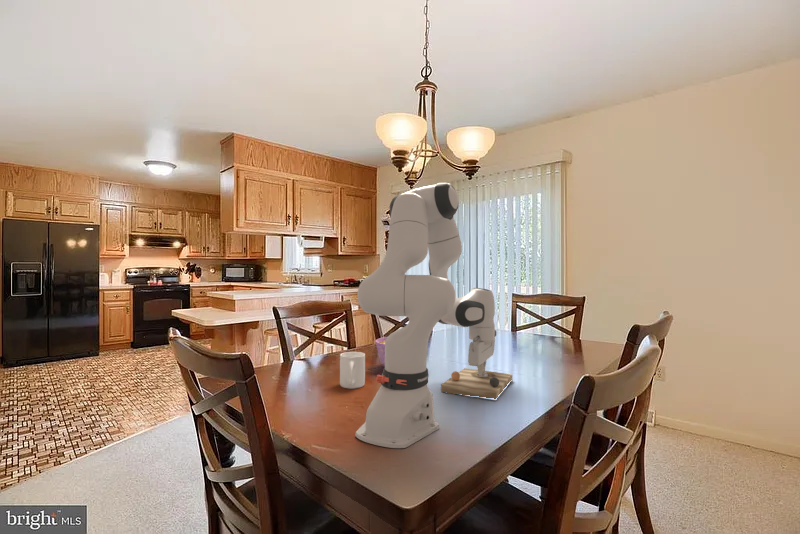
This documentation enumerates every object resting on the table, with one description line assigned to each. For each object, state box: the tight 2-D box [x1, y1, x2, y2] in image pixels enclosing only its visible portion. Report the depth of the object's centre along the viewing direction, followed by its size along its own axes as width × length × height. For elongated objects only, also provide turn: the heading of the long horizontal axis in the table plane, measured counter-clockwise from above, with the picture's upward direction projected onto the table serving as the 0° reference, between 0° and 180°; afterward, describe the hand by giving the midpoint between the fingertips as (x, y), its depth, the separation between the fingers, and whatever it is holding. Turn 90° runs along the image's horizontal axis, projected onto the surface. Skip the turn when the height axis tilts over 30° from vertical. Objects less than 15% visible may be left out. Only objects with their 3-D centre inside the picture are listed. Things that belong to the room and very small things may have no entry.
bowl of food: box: [375, 336, 388, 367], centre depth 159 cm, size 20×20×12 cm
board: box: [440, 367, 513, 399], centre depth 137 cm, size 24×18×2 cm
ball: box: [479, 372, 488, 377], centre depth 142 cm, size 4×4×4 cm
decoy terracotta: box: [450, 370, 460, 380], centre depth 135 cm, size 3×3×3 cm
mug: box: [339, 351, 366, 390], centre depth 136 cm, size 9×12×11 cm
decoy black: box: [490, 377, 499, 387], centre depth 128 cm, size 3×3×3 cm
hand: (481, 373), depth 140 cm, fingers closed
